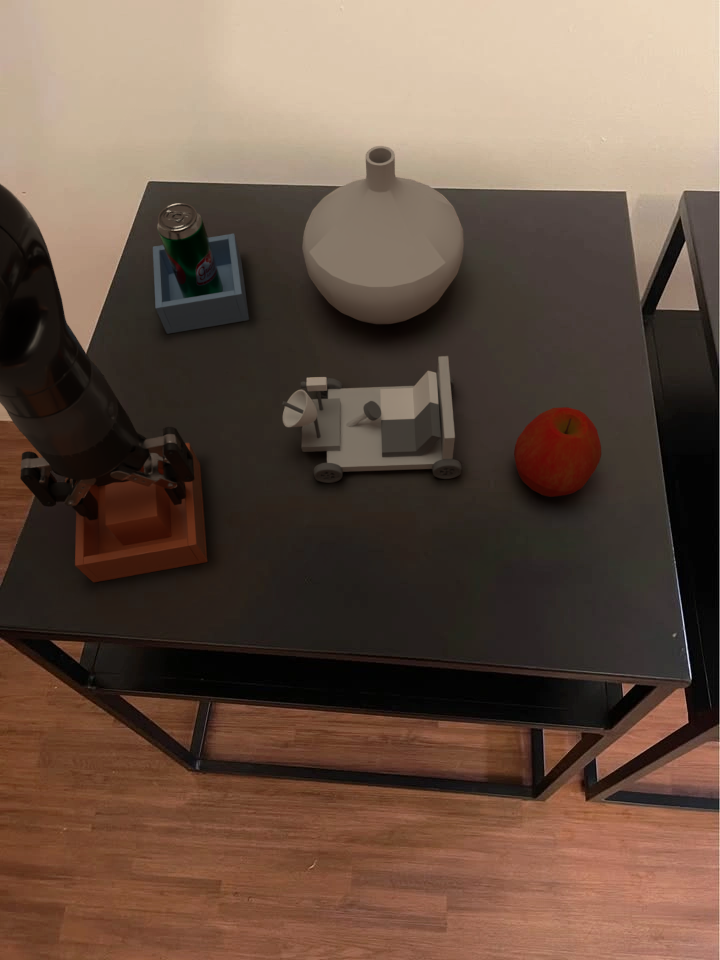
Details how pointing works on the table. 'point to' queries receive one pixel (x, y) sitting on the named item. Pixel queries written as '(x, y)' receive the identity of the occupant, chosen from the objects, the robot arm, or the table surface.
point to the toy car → (378, 425)
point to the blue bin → (203, 308)
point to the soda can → (189, 250)
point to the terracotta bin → (113, 560)
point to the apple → (558, 452)
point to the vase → (383, 244)
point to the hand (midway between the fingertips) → (136, 504)
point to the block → (137, 512)
